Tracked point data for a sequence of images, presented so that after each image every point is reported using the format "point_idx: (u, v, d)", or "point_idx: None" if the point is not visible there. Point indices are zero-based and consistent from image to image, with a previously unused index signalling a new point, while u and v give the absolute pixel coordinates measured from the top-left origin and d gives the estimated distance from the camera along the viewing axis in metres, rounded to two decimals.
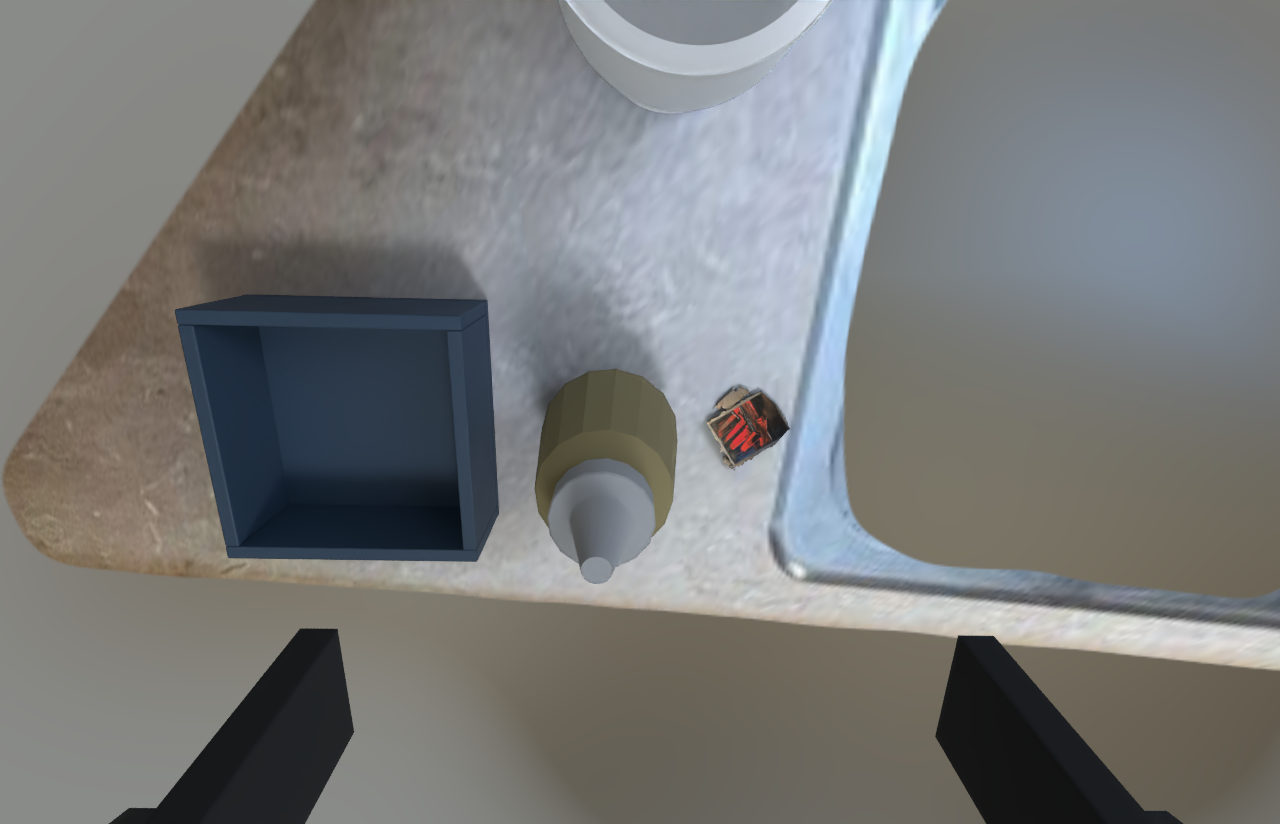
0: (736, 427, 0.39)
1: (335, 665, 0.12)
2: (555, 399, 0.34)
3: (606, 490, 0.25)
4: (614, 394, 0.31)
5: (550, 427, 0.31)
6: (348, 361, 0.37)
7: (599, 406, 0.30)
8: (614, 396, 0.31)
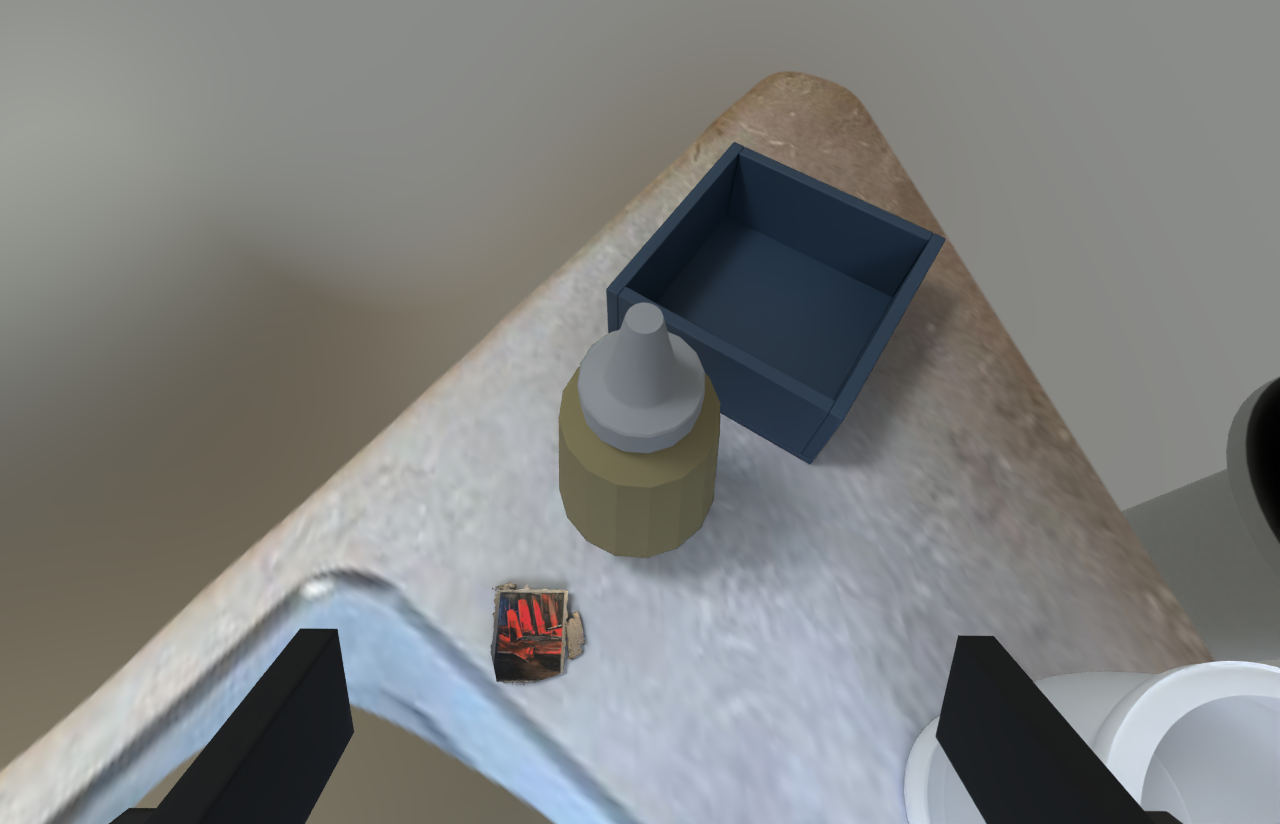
0: (540, 619, 0.31)
1: (335, 665, 0.12)
2: None
3: (675, 402, 0.21)
4: (702, 500, 0.27)
5: None
6: (817, 327, 0.39)
7: (710, 473, 0.26)
8: (702, 498, 0.26)
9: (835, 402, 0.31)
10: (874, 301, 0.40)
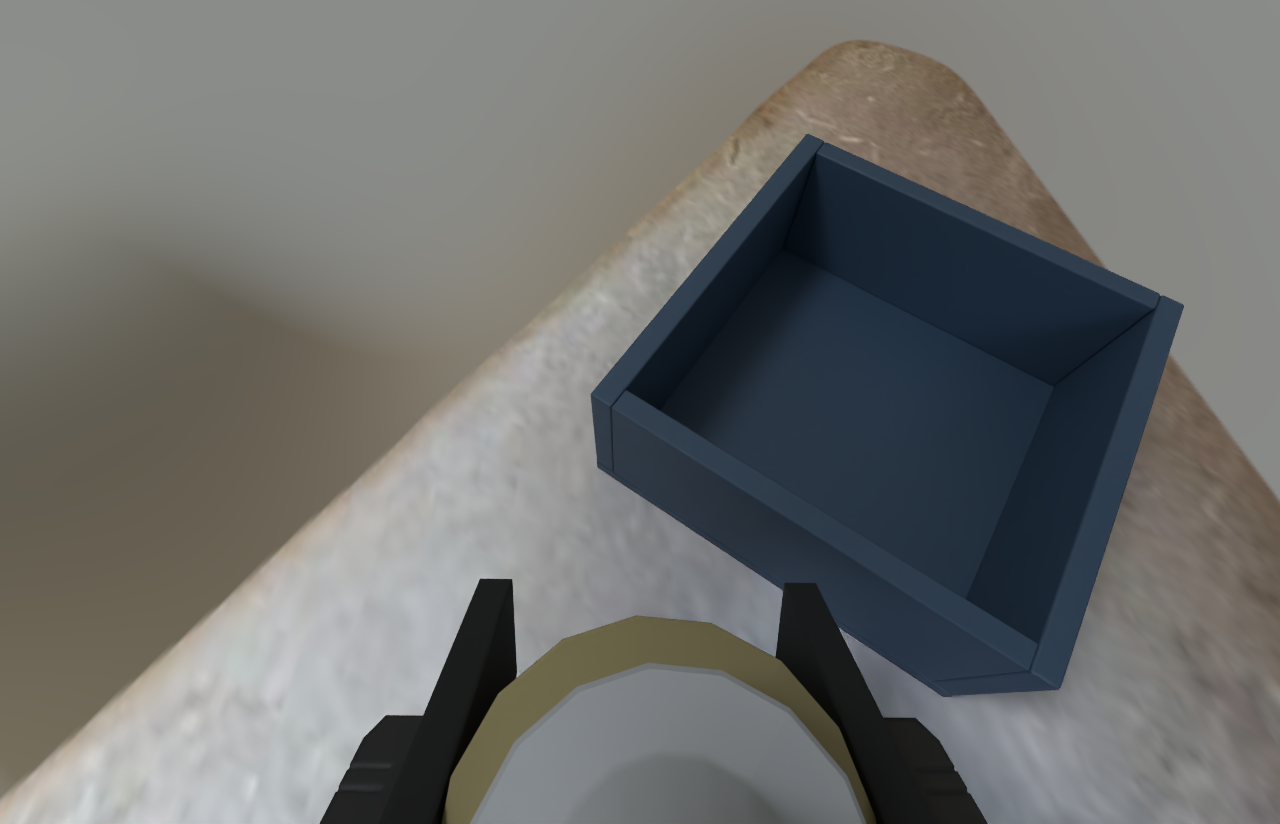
0: None
1: (511, 611, 0.14)
2: None
3: None
4: None
5: None
6: (938, 438, 0.24)
7: None
8: None
9: (1039, 646, 0.15)
10: (1024, 392, 0.25)
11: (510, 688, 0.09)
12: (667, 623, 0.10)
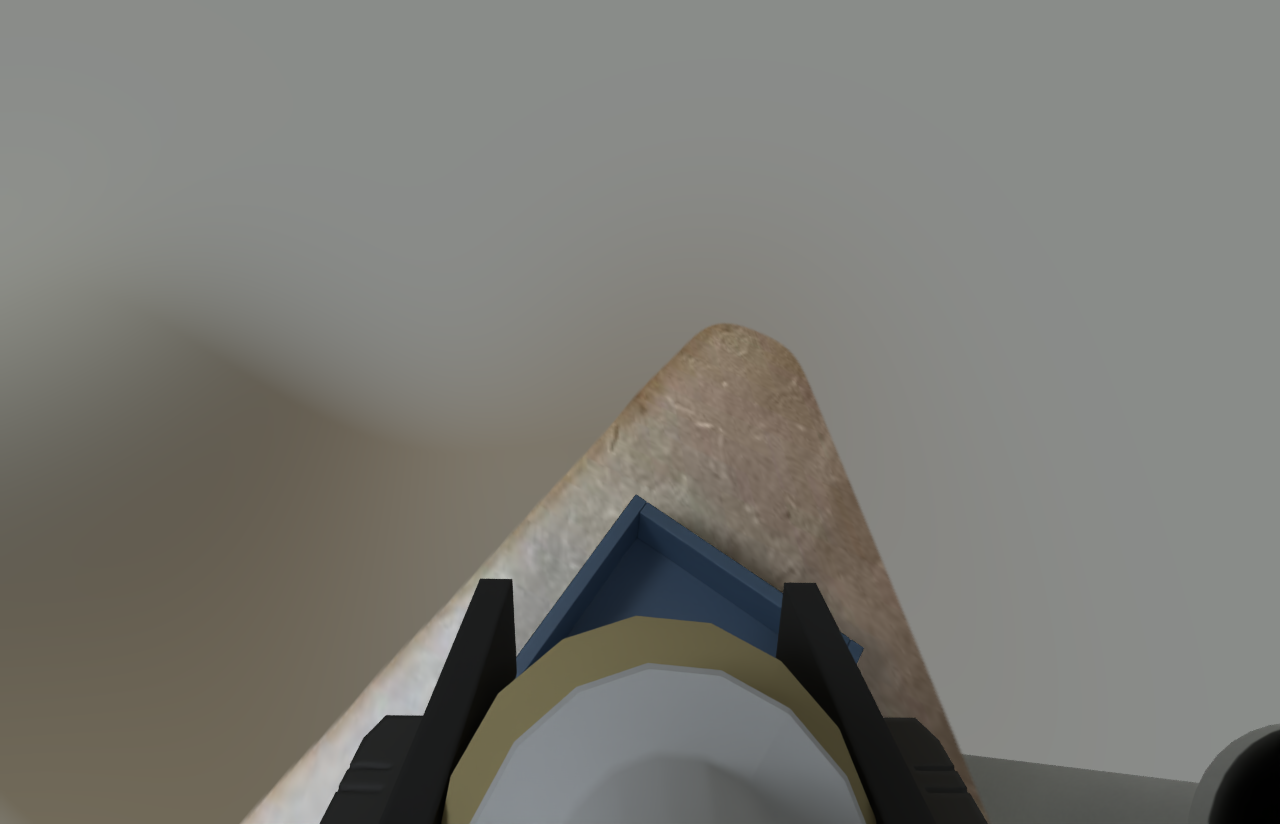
0: None
1: (511, 611, 0.14)
2: None
3: None
4: None
5: None
6: None
7: None
8: None
9: None
10: None
11: (510, 687, 0.09)
12: (667, 623, 0.10)
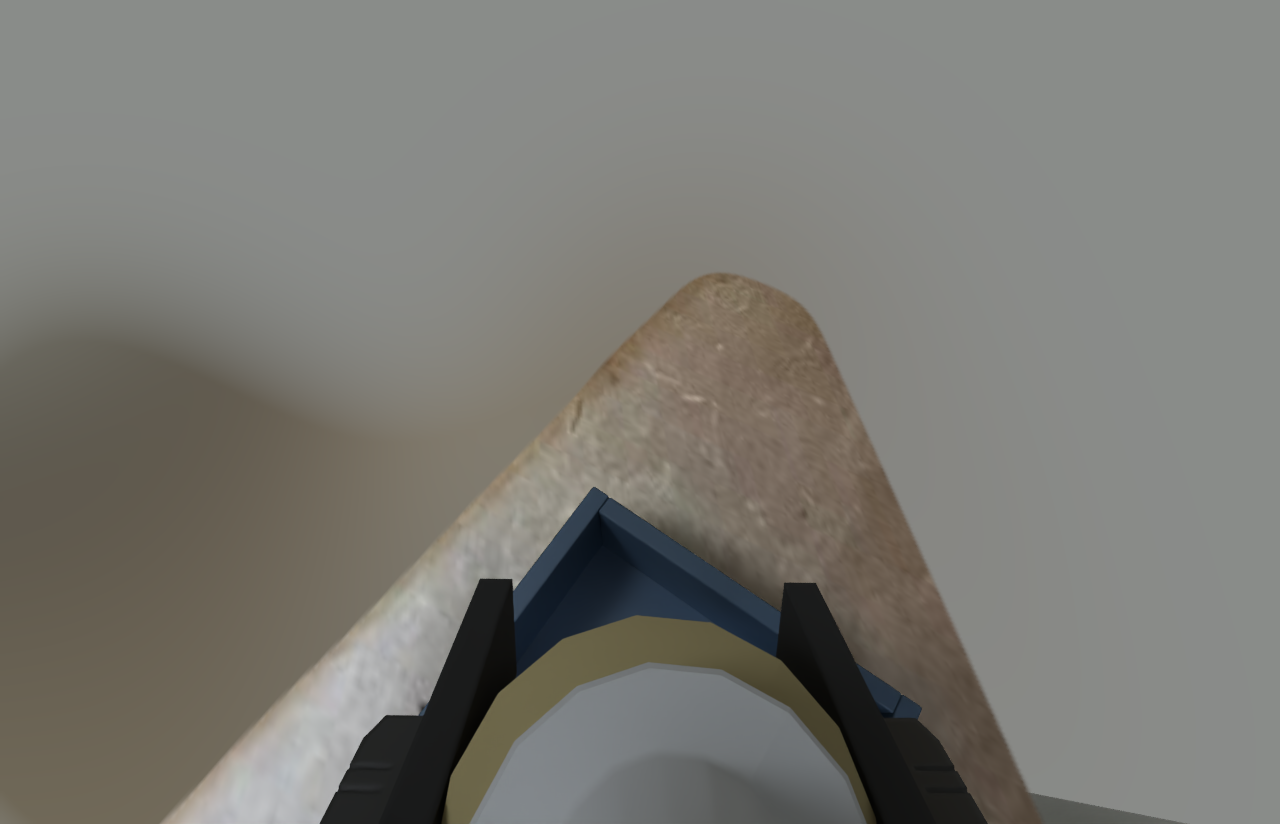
0: None
1: (511, 610, 0.14)
2: None
3: None
4: None
5: None
6: None
7: None
8: None
9: None
10: None
11: (511, 686, 0.09)
12: (667, 623, 0.10)
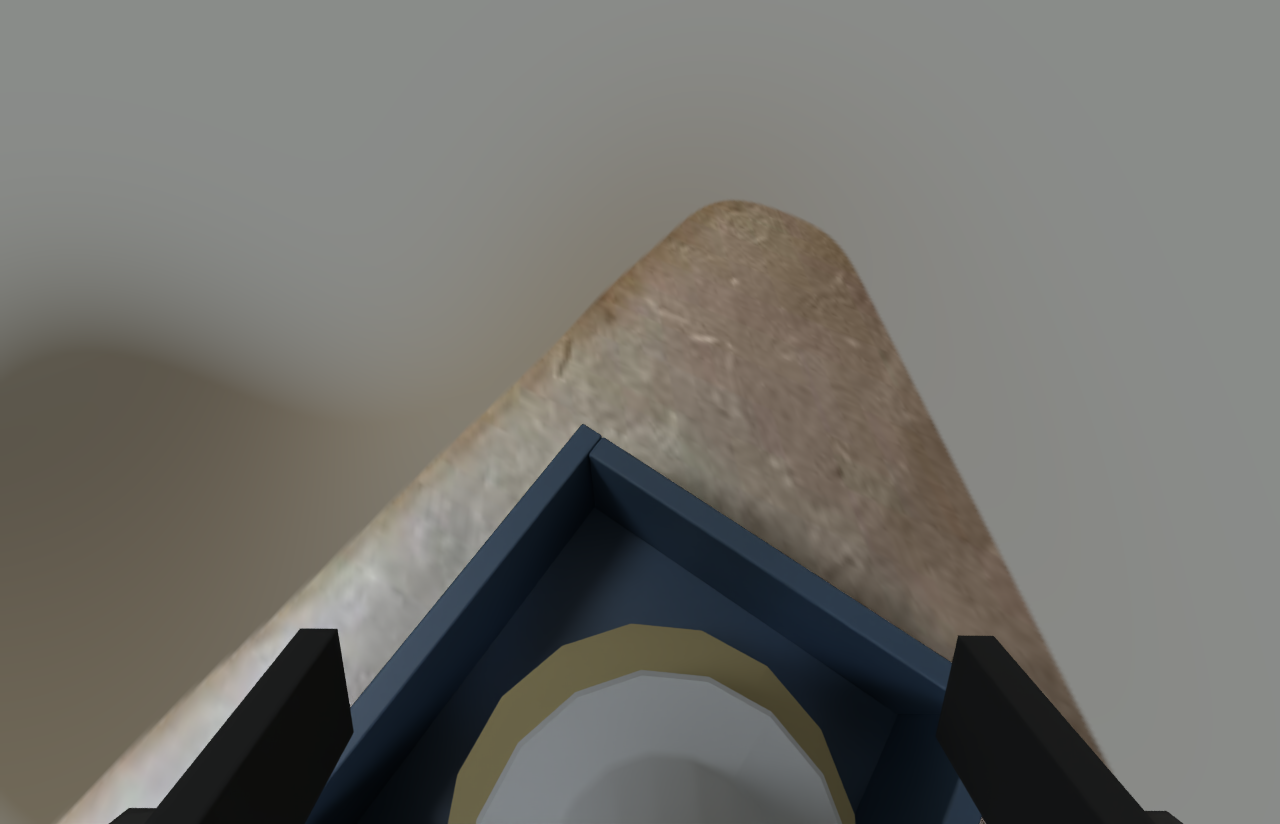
0: None
1: (335, 665, 0.12)
2: None
3: None
4: None
5: None
6: None
7: None
8: None
9: None
10: (860, 724, 0.21)
11: (513, 691, 0.10)
12: (660, 631, 0.11)
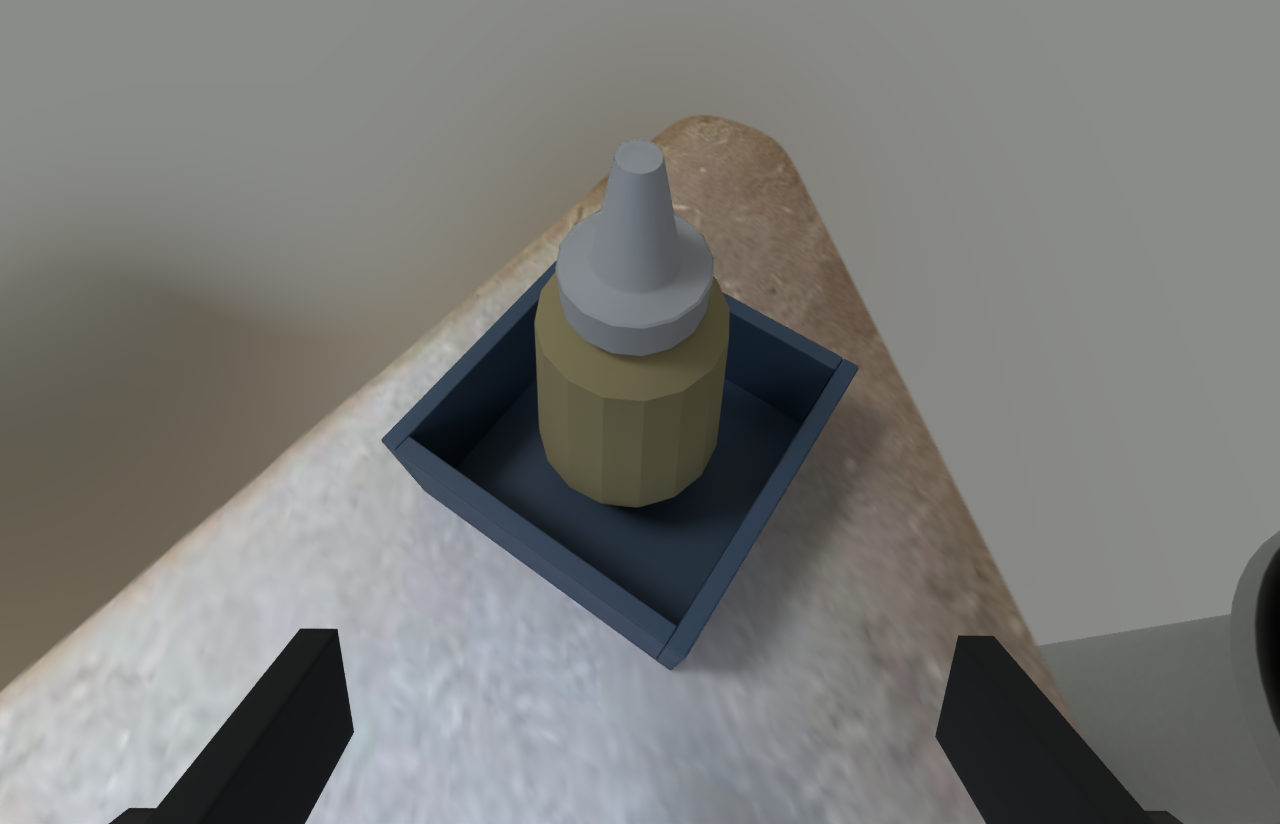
0: None
1: (336, 665, 0.12)
2: None
3: (676, 287, 0.17)
4: (705, 434, 0.23)
5: None
6: None
7: (716, 399, 0.22)
8: (705, 430, 0.22)
9: (677, 628, 0.21)
10: (777, 428, 0.31)
11: None
12: None
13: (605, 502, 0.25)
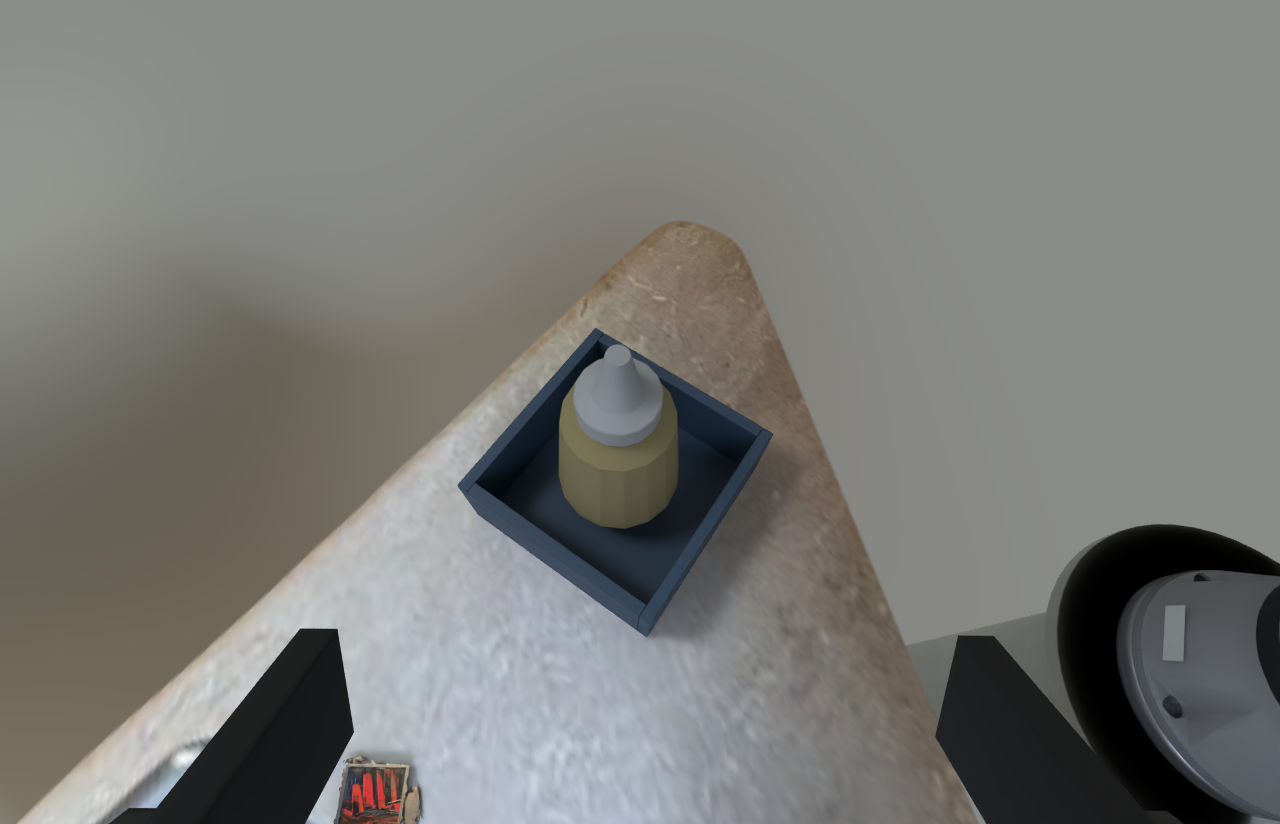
0: (381, 793, 0.35)
1: (335, 665, 0.12)
2: None
3: (641, 411, 0.30)
4: (665, 484, 0.36)
5: None
6: None
7: (671, 463, 0.35)
8: (665, 481, 0.35)
9: (646, 606, 0.34)
10: (725, 470, 0.44)
11: None
12: None
13: (602, 525, 0.38)
